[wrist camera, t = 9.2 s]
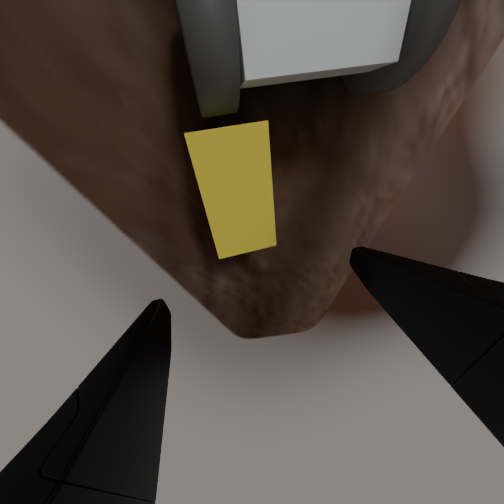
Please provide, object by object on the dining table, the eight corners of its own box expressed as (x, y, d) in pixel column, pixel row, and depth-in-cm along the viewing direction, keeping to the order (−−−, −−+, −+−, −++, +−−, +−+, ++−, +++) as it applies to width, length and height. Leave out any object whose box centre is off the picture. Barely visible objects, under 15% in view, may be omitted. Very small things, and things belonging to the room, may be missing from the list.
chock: (248, 124, 14) (268, 120, 10) (259, 220, 19) (276, 245, 15) (188, 133, 14) (183, 133, 10) (214, 230, 18) (219, 259, 14)
